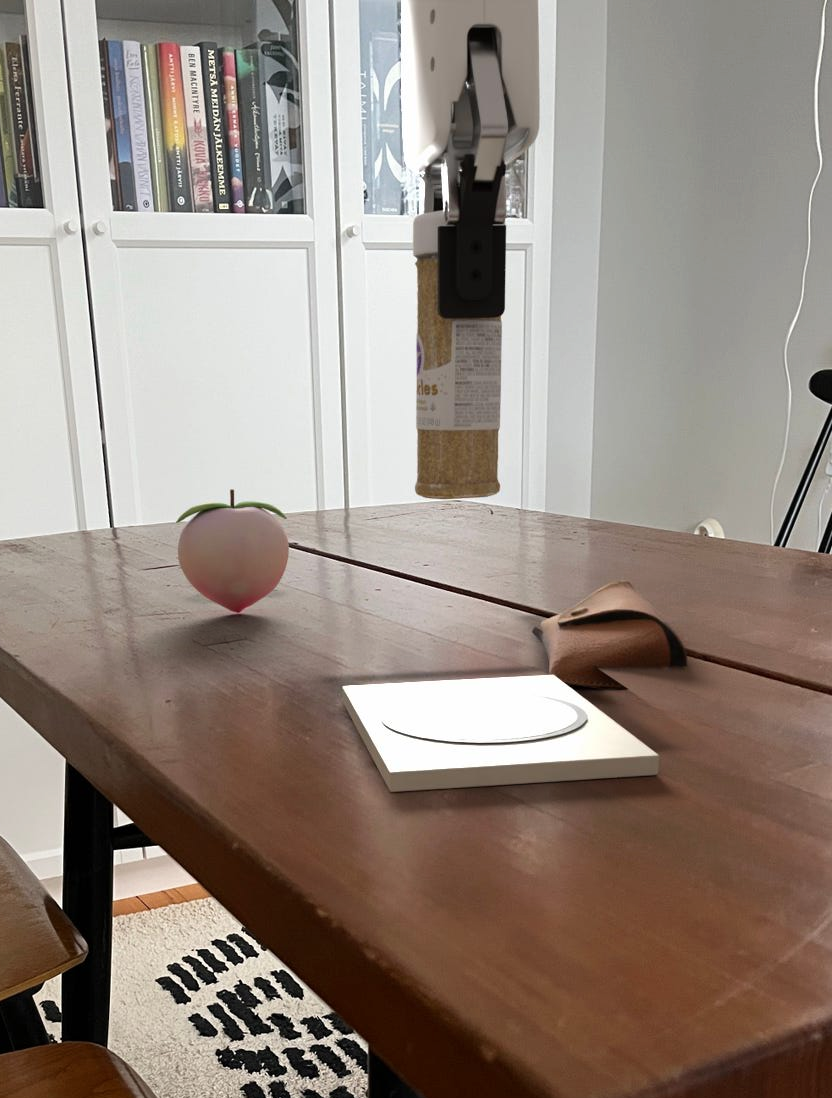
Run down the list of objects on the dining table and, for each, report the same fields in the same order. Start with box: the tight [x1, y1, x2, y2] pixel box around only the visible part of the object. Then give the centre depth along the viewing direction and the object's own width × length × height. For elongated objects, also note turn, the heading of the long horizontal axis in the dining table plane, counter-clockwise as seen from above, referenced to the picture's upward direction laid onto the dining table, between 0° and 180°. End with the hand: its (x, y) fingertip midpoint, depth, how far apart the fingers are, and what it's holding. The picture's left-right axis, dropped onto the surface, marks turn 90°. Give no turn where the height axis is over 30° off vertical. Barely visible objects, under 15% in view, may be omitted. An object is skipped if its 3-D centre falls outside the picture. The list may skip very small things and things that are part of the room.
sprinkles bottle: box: [412, 210, 506, 500], centre depth 64 cm, size 5×5×13 cm
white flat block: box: [341, 674, 660, 793], centre depth 68 cm, size 13×18×1 cm
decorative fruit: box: [176, 488, 290, 614], centre depth 104 cm, size 9×8×10 cm
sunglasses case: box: [531, 579, 688, 690], centre depth 84 cm, size 18×7×7 cm
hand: (459, 316), depth 63 cm, fingers closed on sprinkles bottle, 4 cm apart
